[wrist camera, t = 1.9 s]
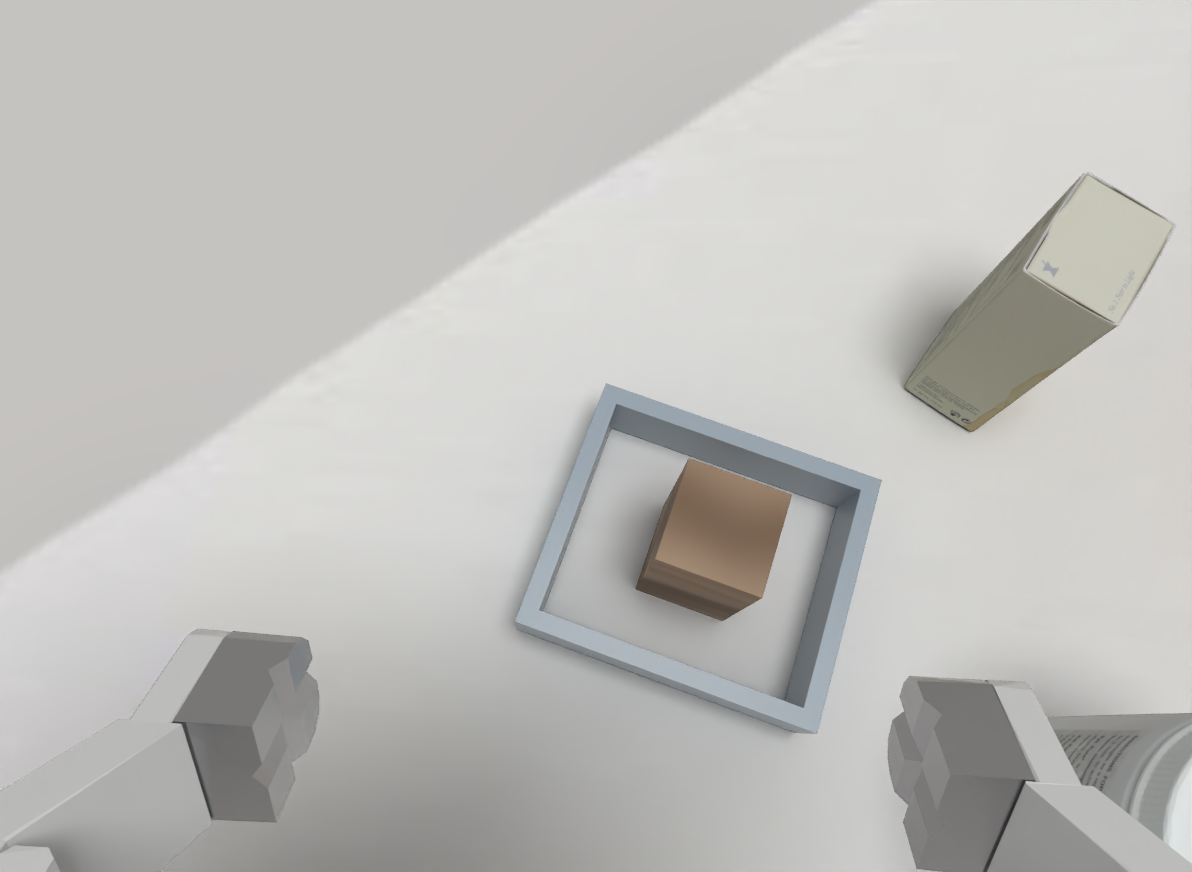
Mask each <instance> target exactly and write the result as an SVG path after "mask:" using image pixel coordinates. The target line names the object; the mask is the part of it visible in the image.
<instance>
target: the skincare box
mask: <svg viewBox="0 0 1192 872" xmlns="http://www.w3.org/2000/svg"><path fill="white" fill-rule="evenodd" d="M1174 229H1175V224H1174V223H1173V222H1172V221H1170V220H1168V219H1167V218H1165V217H1164V216H1162V215H1160V214H1158V213H1157V212H1155V211H1153V210H1152V209H1150V208H1149V207H1147V206H1145V205H1144V204H1142V203H1141V202H1139V201H1137V200H1136V199H1134V198H1132V197H1131V196H1129V195H1127V194H1126V193H1124V192H1122V191H1121V190H1119V189H1117V188H1116V187H1114V186H1112V185H1110V184H1109V183H1107V182H1105V181H1104V180H1102V179H1101V178H1099V177H1097V176H1095V175H1094V174H1092V173H1090V172H1086V173H1084V174H1083V175H1082V176H1081V177H1080V178H1079V179H1078V180H1077V181H1076V182H1075V183H1074V184H1073V185H1072V186H1071V187H1070V188H1069V189H1068V190H1067V192H1066V193H1065V194H1064V195H1063V196H1062V197H1061V198H1060V199H1059V200H1058V201H1057V202H1056V203H1055V204H1054V205H1053V207H1052V208H1051V209H1050V210H1049V211H1048V212H1047V213H1046V214H1045V215H1044V216H1043V217H1042V218H1041V219H1040V221H1039V222H1038V223H1037V224H1036V225H1035V226H1034V227H1033V228H1032V229H1031V230H1030V231H1029V232H1028V233H1027V234H1026V236H1025V237H1024V238H1023V239H1022V240H1021V241H1020V242H1019V243H1018V244H1017V245H1016V246H1015V247H1014V249H1013V250H1012V251H1011V252H1010V253H1009V254H1008V255H1007V256H1006V257H1005V258H1004V259H1003V260H1002V261H1001V262H1000V263H999V265H998V266H997V267H996V268H995V269H994V270H993V271H992V272H991V273H990V274H989V275H988V276H987V277H986V278H985V279H984V280H983V282H982V283H981V284H980V285H979V286H978V287H977V288H976V289H975V290H974V291H973V292H972V293H971V294H970V295H969V297H968V298H967V299H966V300H965V301H964V302H963V303H962V304H961V305H960V306H959V307H958V308H957V309H956V311H955V312H954V313H953V315H952V316H951V318H950V319H949V320H948V322H947V323H946V324H945V326H944V327H943V329H942V330H941V331H940V333H939V334H938V336H937V337H936V339H935V340H934V342H933V343H932V344H931V346H930V348H929V349H928V351H927V352H926V353H925V355H924V356H923V358H922V359H921V361H920V362H919V364H918V365H917V367H916V369H915V370H914V372H913V373H912V375H911V376H910V378H909V380H908V381H907V383H906V384H905V388H906V389H907V390H908V391H910V392H911V393H913V394H914V395H916V396H917V397H919V398H920V399H921V400H923V401H924V402H926V403H927V404H929V405H930V406H932V407H934V408H935V409H936V410H938V411H940V412H941V413H942V414H944V415H946V416H947V417H949V418H950V419H952V420H953V421H955V422H956V423H958V424H960V425H961V426H963V427H965V428H966V429H968V430H969V431H975V430H976V429H978V428H979V427H980V426H982V425H983V424H984V423H986V422H987V421H988V420H990V419H991V418H992V417H994V416H995V415H996V414H998V413H999V412H1000V411H1002V410H1003V409H1005V408H1006V407H1007V406H1009V405H1010V404H1011V403H1013V402H1014V401H1015V400H1017V399H1018V398H1019V397H1021V396H1022V395H1023V394H1025V393H1026V392H1027V391H1029V390H1030V389H1031V388H1033V387H1034V386H1035V385H1037V384H1038V383H1039V382H1041V381H1042V380H1044V379H1045V378H1046V377H1048V376H1049V375H1050V374H1052V373H1053V372H1054V371H1056V370H1057V369H1058V368H1060V367H1061V366H1063V365H1064V364H1065V363H1067V362H1068V361H1070V360H1071V359H1072V358H1074V357H1075V356H1076V355H1078V354H1079V353H1080V352H1082V351H1083V350H1084V349H1086V348H1087V347H1089V346H1090V345H1091V344H1093V343H1094V342H1095V341H1097V340H1098V339H1100V338H1101V337H1102V336H1104V335H1105V334H1107V333H1108V332H1110V331H1111V330H1113V329H1114V328H1115V327H1117V326H1118V325H1119V324H1120V323H1121V321H1122V320H1123V318H1124V317H1125V315H1126V314H1127V312H1128V311H1129V309H1130V308H1131V306H1132V304H1133V303H1134V301H1135V299H1136V298H1137V296H1138V294H1139V293H1140V291H1141V289H1142V288H1143V286H1144V284H1145V283H1146V281H1147V279H1148V277H1149V275H1150V274H1151V272H1152V270H1153V268H1154V266H1155V265H1156V263H1157V261H1158V259H1159V257H1160V256H1161V254H1162V252H1163V250H1164V248H1165V246H1166V244H1167V242H1168V241H1169V239H1170V237H1171V235H1172V233H1173V231H1174Z"/></svg>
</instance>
